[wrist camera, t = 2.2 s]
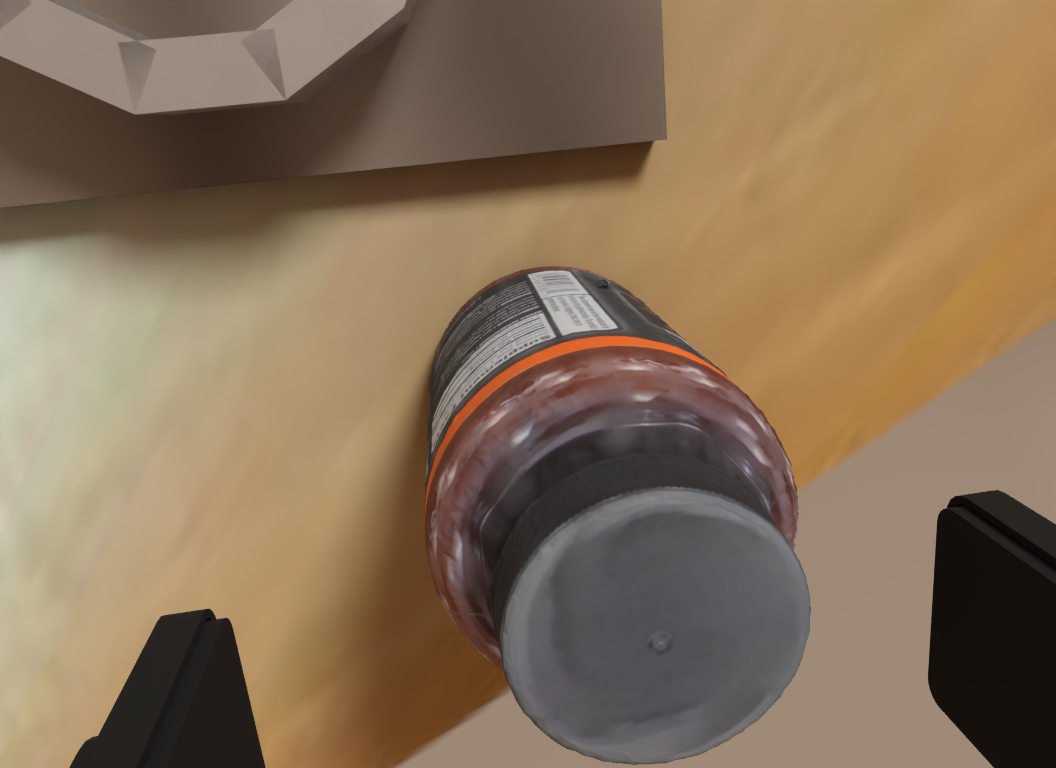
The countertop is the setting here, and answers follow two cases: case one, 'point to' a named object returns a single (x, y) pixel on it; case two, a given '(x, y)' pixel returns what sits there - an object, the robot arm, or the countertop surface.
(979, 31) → the countertop surface
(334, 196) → the countertop surface
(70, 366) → the countertop surface
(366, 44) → the steel collar
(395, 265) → the countertop surface
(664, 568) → the supplement bottle
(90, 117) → the holder board
